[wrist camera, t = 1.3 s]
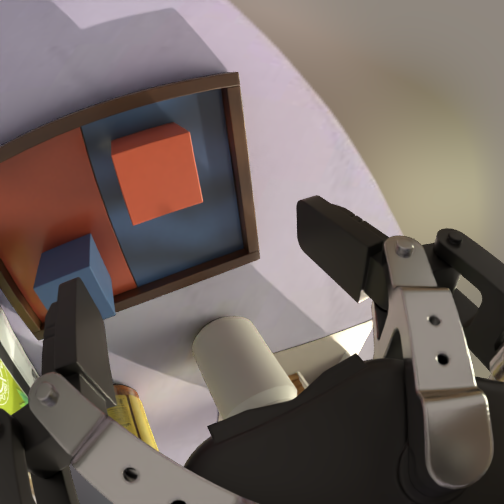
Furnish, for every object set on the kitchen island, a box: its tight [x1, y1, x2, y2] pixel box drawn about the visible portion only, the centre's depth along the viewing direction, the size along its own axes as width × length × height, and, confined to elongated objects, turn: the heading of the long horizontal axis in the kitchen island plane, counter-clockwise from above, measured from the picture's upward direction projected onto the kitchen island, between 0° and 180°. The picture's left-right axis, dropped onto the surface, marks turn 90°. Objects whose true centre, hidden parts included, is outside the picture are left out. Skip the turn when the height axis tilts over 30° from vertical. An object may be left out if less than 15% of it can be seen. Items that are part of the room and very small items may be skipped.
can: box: [192, 316, 297, 420], centre depth 29 cm, size 8×8×12 cm
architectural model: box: [218, 320, 373, 422], centre depth 39 cm, size 28×21×23 cm
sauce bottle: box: [107, 384, 159, 451], centre depth 24 cm, size 7×6×20 cm
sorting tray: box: [0, 72, 260, 340], centre depth 20 cm, size 16×22×2 cm
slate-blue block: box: [33, 233, 116, 320], centre depth 19 cm, size 4×4×4 cm
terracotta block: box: [111, 122, 203, 226], centre depth 18 cm, size 4×4×4 cm
